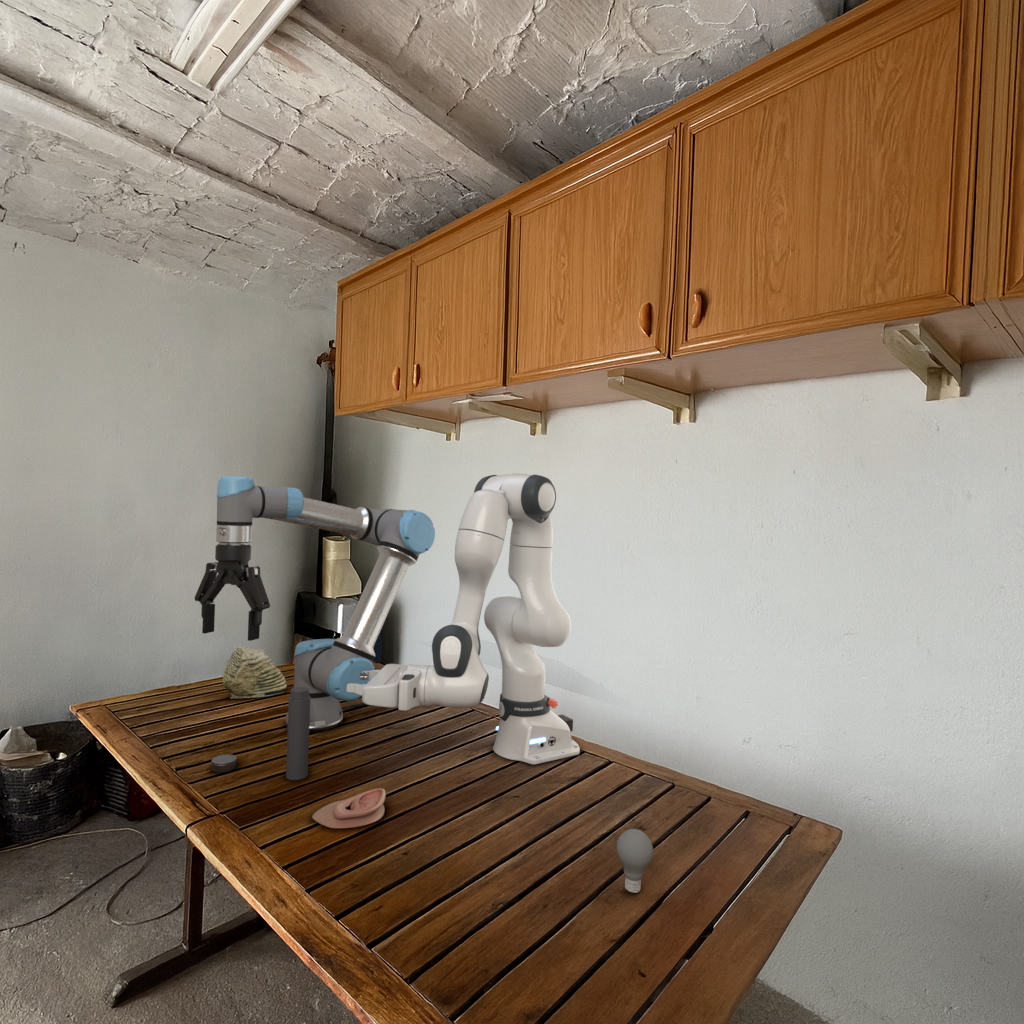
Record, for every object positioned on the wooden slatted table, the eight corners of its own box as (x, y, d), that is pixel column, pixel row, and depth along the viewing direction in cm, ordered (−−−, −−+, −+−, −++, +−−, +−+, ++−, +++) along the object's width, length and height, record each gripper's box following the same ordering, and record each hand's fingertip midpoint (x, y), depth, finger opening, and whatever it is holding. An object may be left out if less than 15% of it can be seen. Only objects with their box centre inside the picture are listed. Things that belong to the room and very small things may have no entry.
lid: (241, 766, 147) (241, 757, 147) (221, 774, 142) (222, 765, 142) (225, 761, 149) (225, 752, 149) (205, 769, 144) (206, 760, 144)
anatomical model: (304, 803, 122) (333, 778, 133) (303, 824, 122) (332, 797, 133) (368, 813, 119) (392, 787, 131) (368, 834, 119) (391, 806, 131)
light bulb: (610, 879, 108) (613, 822, 108) (644, 879, 109) (647, 822, 109) (619, 902, 102) (622, 840, 102) (655, 901, 103) (658, 840, 103)
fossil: (218, 695, 195) (220, 647, 195) (278, 685, 208) (279, 640, 207) (228, 703, 189) (230, 653, 188) (289, 692, 201) (290, 645, 201)
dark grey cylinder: (281, 776, 143) (284, 689, 142) (299, 769, 146) (302, 684, 146) (294, 782, 140) (297, 693, 140) (311, 775, 144) (315, 689, 143)
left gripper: (179, 540, 146) (176, 632, 146) (264, 548, 137) (260, 645, 137) (206, 539, 153) (203, 626, 153) (288, 546, 144) (285, 639, 144)
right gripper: (425, 659, 152) (368, 655, 152) (405, 683, 131) (340, 679, 132) (423, 685, 152) (367, 681, 153) (404, 713, 131) (338, 709, 132)
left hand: (230, 636), depth 145 cm, fingers open, 13 cm apart
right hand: (354, 680), depth 142 cm, fingers open, 8 cm apart
